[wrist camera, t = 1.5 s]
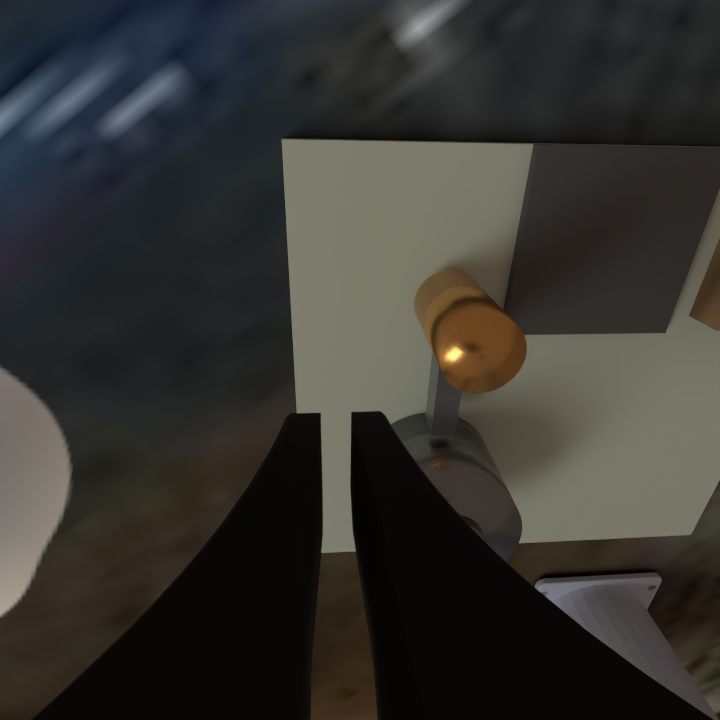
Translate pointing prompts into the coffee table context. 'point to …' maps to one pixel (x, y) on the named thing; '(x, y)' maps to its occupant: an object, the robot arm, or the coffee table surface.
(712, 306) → the frame
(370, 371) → the board
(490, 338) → the lever
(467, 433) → the cylinder
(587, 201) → the rubber pad
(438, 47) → the coffee table surface
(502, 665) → the robot arm
